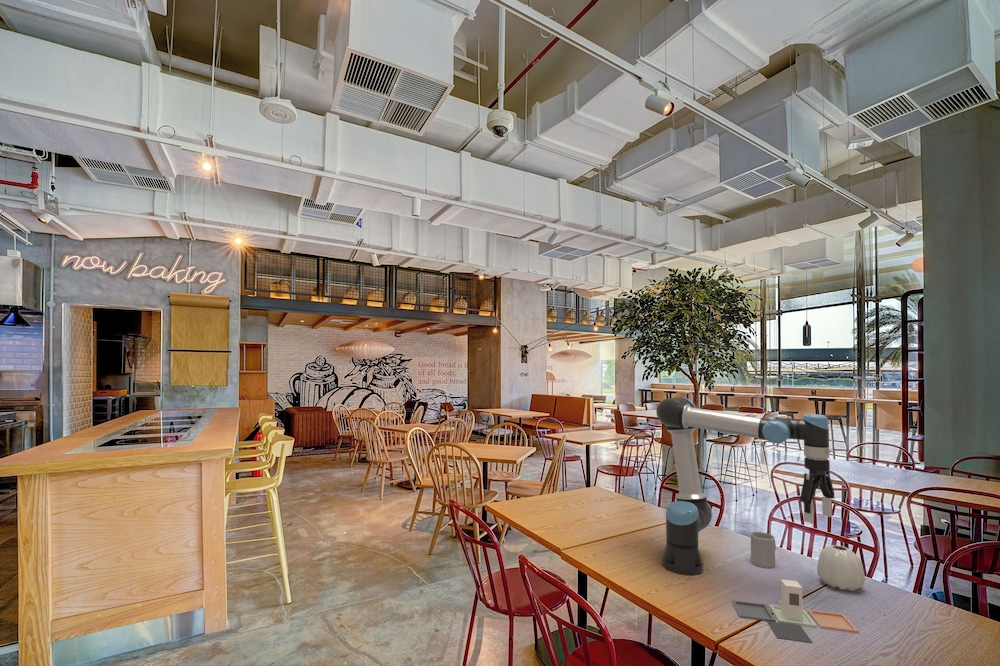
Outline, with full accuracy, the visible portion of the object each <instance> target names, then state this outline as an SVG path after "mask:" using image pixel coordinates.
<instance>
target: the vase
mask: <svg viewBox="0 0 1000 666" xmlns="http://www.w3.org/2000/svg"><path fill="white" fill-rule="evenodd" d="M817 559H818V560H817V565H816V566H817V568H816V571H817V575H818V577H820V579H821V581H823V582H824V583H825V584H826V585H828V586H831V588H834V589H838V590H840V591H848V592H853V591H858V590H860V589H861V588H862V587H863V586H864V585H865V583H866V576H865V570H864V567H863V566H864V565H863V563H862V560H861V558H859V556H858V555H857V554H856V553H855V552H854V551H852V550H851V549H850V548H848V547H846V546H842V545H837V544H836V545H835V544H832V545H828V546H826V547H824V548H822V549H821V551H820V553H819V557H818V558H817Z"/></svg>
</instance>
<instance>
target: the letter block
mask: <svg viewBox="0 0 1000 666" xmlns="http://www.w3.org/2000/svg"><path fill="white" fill-rule="evenodd" d="M780 606H781V612H782V614H783V615H784V617H785V618H786V619H788V620H796V621H803V609H804V608H803V587H802V585H800V583H799V582H798V581H796V580H790V579H789V580H788V579H780Z"/></svg>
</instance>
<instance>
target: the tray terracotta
mask: <svg viewBox="0 0 1000 666" xmlns="http://www.w3.org/2000/svg"><path fill="white" fill-rule="evenodd" d="M806 612H807V614H808V615H809V616H810V618H811V619H812V620H813V621H814V623H815V624H816V625H817V626H818V627H819V628H820V629H823V630H832V631H839V632H847V633H854V634H855V633H856V634H860V630H859V629H858V628H857V627H856V626H855V625H854V624H853V623H852V622H851V620H849V619H848V617H847V616H846V615H845V614H844V613H838V612H832V611H822V610H815V609H807V611H806Z"/></svg>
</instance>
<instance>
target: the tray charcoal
mask: <svg viewBox="0 0 1000 666" xmlns="http://www.w3.org/2000/svg"><path fill="white" fill-rule="evenodd" d="M731 603H732V605H733V607H734V609H735V611H736V613H737V615H738V616H739V618H740V619H747V620H753V621H754V620H755V621H763V622H767V621H770V622H777V619H776V617H775V616H774V614H773V612H772V611H771V609H770V608H769V606H767V604H765V603H759V602H751V601H742V600H736V599H735V600H734V599H732V600H731Z"/></svg>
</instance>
